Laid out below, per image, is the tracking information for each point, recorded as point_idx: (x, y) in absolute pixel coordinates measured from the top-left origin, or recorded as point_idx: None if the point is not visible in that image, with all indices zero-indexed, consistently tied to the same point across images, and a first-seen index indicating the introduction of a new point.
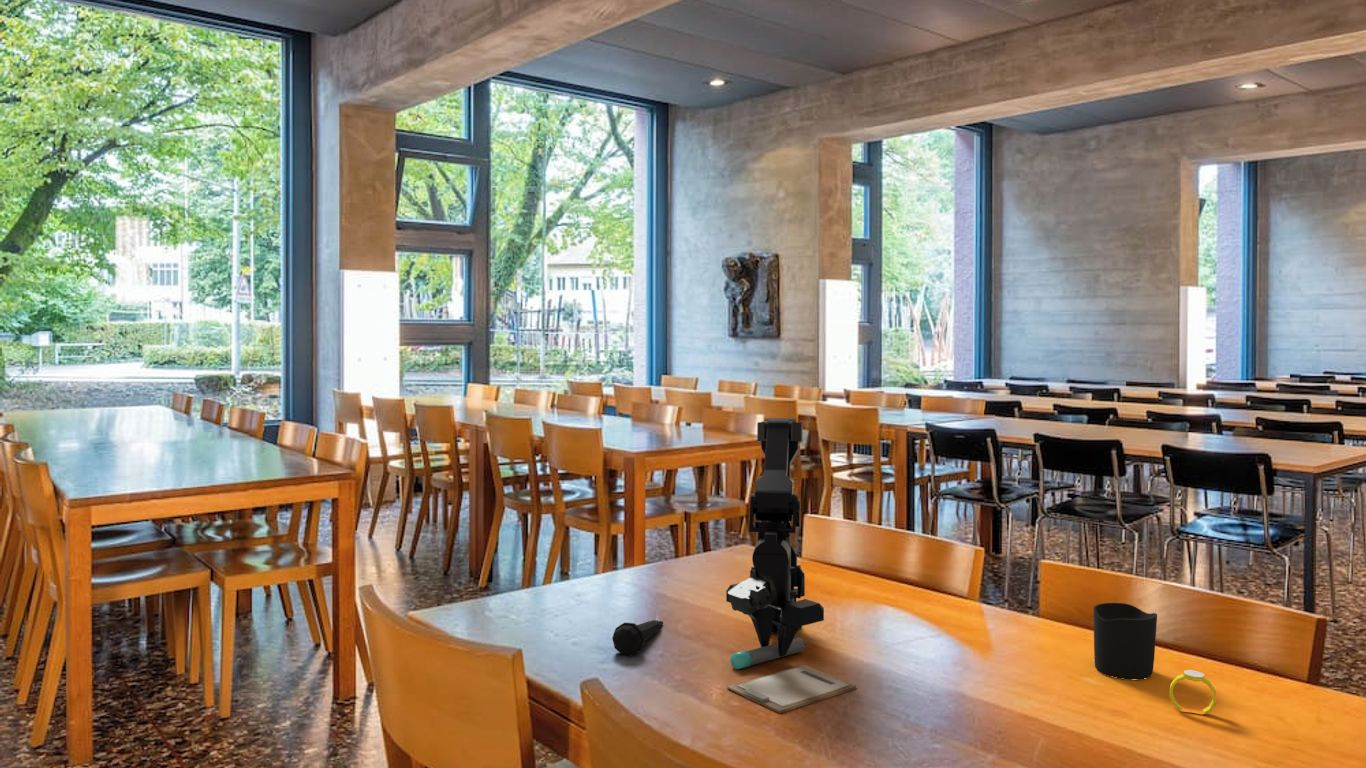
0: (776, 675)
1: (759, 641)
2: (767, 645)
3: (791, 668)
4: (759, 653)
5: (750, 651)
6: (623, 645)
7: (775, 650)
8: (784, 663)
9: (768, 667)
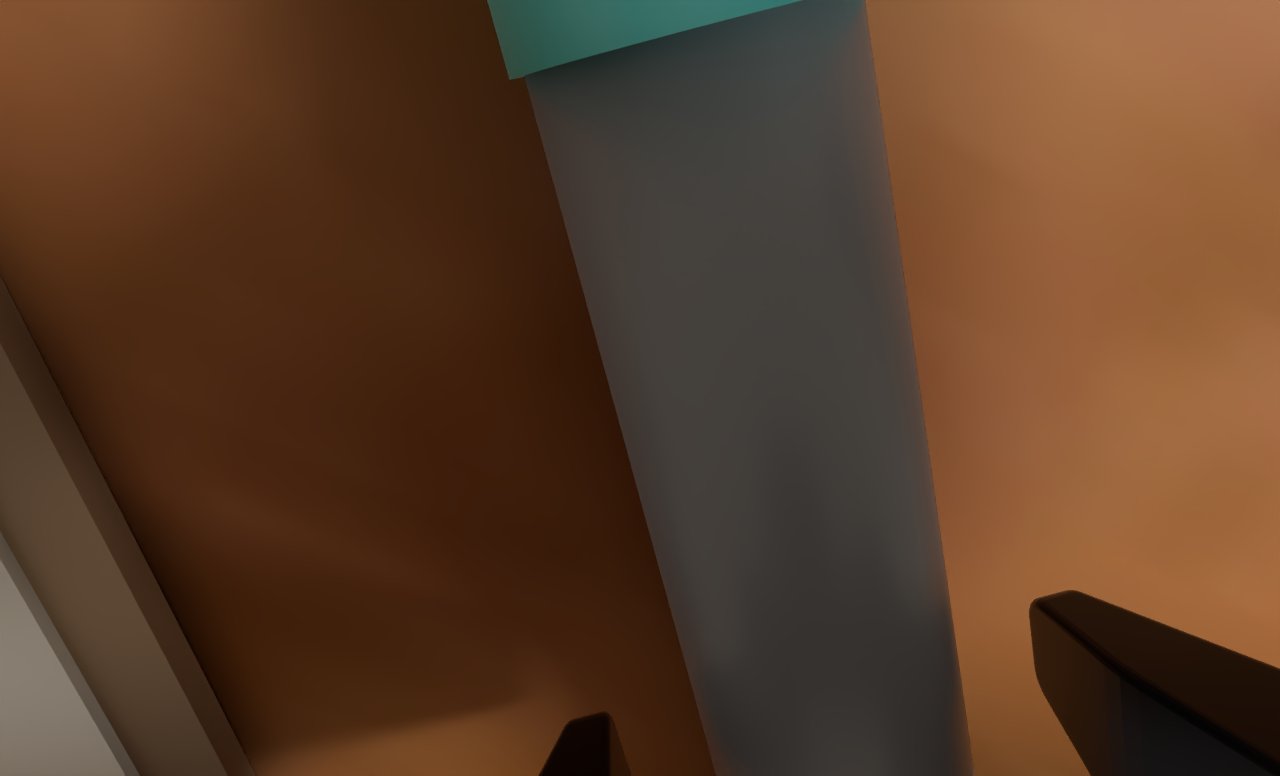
0: None
1: (1191, 639)
2: (1069, 717)
3: (160, 677)
4: (633, 364)
5: (709, 153)
6: None
7: (717, 733)
8: (540, 686)
9: (460, 395)
